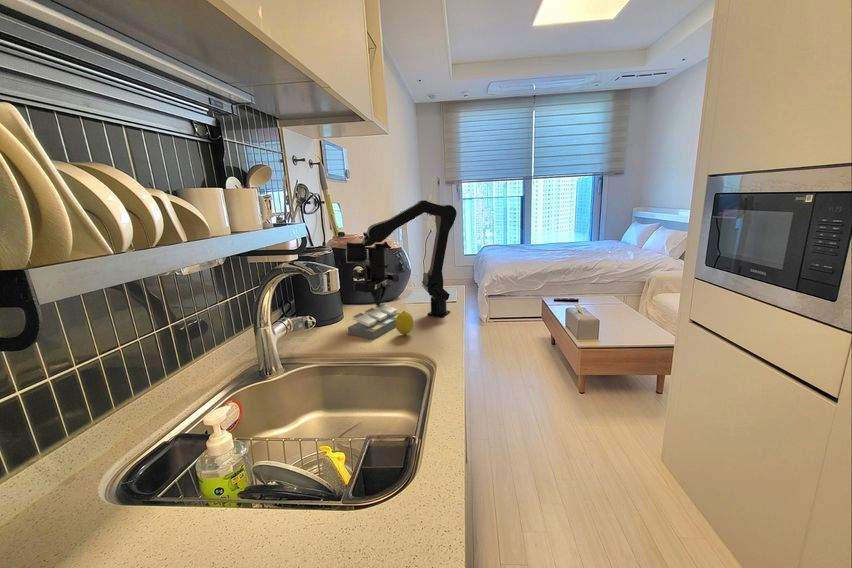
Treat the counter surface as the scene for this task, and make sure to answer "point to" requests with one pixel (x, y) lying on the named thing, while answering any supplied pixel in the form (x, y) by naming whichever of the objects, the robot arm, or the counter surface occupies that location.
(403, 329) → the lemon
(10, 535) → the counter surface
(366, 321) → the switch
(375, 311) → the switch middle
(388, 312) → the switch
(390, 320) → the switch panel
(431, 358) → the counter surface
